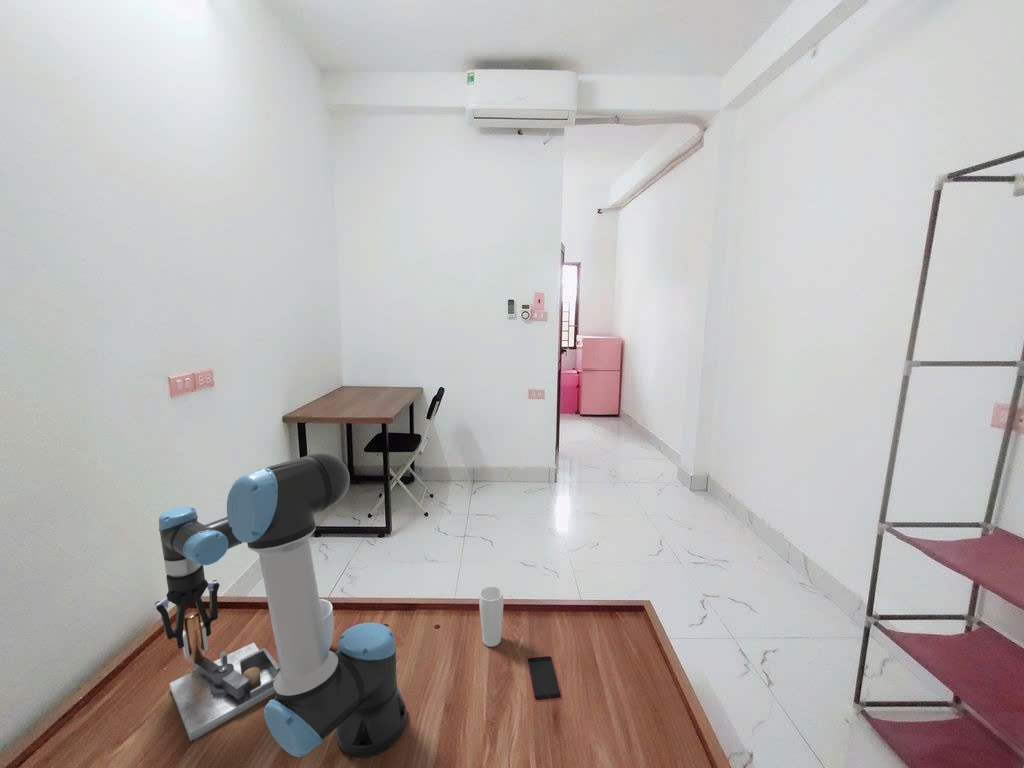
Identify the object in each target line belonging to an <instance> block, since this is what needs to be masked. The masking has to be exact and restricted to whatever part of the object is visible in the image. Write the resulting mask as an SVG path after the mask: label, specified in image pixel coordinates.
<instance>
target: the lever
mask: <svg viewBox="0 0 1024 768" xmlns="http://www.w3.org/2000/svg"><path fill="white" fill-rule="evenodd" d="M201 623H202V622H201V616H200V613H199V611H193V612H189V613H188V614H186V615H184V631H185V633H186V635H187V641H188V648H189V655H190V659H188V660H189V664H190V666H191V667H192V668H194V669H195V670H198V671H200V672H201V673H203V674H204V675H206V676H207V677H209V678H210V679H212V680H213V683H214V687H215V688H217V689H221V688H223V689H224V690H225V691H227V692H228V693H229V694H231V695H232V696H234V697H235V698H237V699H239V698H241V697H242V696H244V695H245V694H246V693H248V692H249V691H250V690H251V688H250V680H249V679H247V678H246V677H244V676H243V675H241V674H240V673H238V672H236V671H235V670H234V666H233V665H232V664H224V665H221V666H218V665H217V664H215V663H214V661H212V660H211V659H209V658H207V657H206V656H205V655H206V654H205V650H204V647H203V639H202V631H201Z"/></svg>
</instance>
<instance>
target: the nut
mask: <svg viewBox="0 0 1024 768" xmlns="http://www.w3.org/2000/svg"><path fill="white" fill-rule="evenodd" d="M243 676H244V677H246V678H247V679H249V680H250V688H251V690H252V689H255V688H256V687H258V686H259V684H260V683H261V679H260V670H259V668H258V667H252V668H249V669H248V670H246V671H245V672H244V673H243Z"/></svg>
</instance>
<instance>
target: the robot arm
mask: <svg viewBox="0 0 1024 768" xmlns="http://www.w3.org/2000/svg"><path fill="white" fill-rule="evenodd" d="M350 479H351V476H350V472H349V469H348V466H347V465H346V464H345V463H344V462H343V461H342V460H341V459H340V458H339V457H337V456H334V455H333V454H330V453H329V454H328V453H321V452H320V453H312V454H307V455H305V456H301V457H298V458H295V459H291V460H288V461H284V462H281V463H277V464H274V465H270V466H267V467H262V468H261V467H260V468H258V469H257V470H255V471H252V472H250V473H249V472H248V474H244V475H242V476H240V477H239V478H238V479H237V480H235V481H234V483H233V484H232V485H231V488H229V492H228V496H227V500H226V516H225V517H223V518H220V519H217V520H215V521H212V522H210V523H207V524H203V523H201V522H199V521H198V518H199V516H198V514H197V510H196V508H194V507H192V506H178V507H175V508H172V509H169V510H166V511H165V512H163V513H161V515H160V516H159V518H158V531H159V535H160V543H161V547H162V555H163V561H164V571H165V574H166V577H165V578H166V584H167V589H168V590H167V593H166V597H164V598H163V599H162V600H161V601H159V600H158V601H156V602H155V603H154V606H155V608H156V611H157V612H158V613H159V614H160V616H161V620H162V624H163V628H164V633H165V635H166V637H167V640H172V639H175V640H176V646H177V648H178V649H179V650H180V649H182V650H183V656H184V658H185V660H186V661H187V660H189V659H190V655H189V648H188V641H187V635H186V630H184V628H185V623H184V617H185V616H186V615H185V613H186V610H187V609H186V607H187V606H189V605H191V604H194V603H195V605H196V608H197V610H198V611H197V612H199V615H200V619H201V620H202V622H200V623H201V631H202V639H203V647H204V652H206V651H208V650H209V645H208V644H209V643H208V637H209V636H211V634H212V629H211V628H212V627H211V625H212V624H211V623H212V622H213V621H216V620H217V619H218V618H219V616H218V615H219V613H218V612H219V611H218V610H219V609H218V607H219V605H218V592H219V589H220V586H221V585H220V583H219V581H218V580H216V579H214V580H212V581H208V580H207V579H206V577H205V571H204V566H210V565H213V564H216V563H217V562H219V561H220V559H222V558H223V557H224V556H225V554H227V552H228V550H229V549H232V548H235V547H236V546H239V545H241V544H244V543H247V548H248V550H251V551H253V552H255V553H257V554H258V556H259V563H260V566H261V571H262V577H263V582H264V588H265V595H266V599H267V605H268V610H269V617H270V621H271V622H270V623H271V626H272V627H271V628H272V632H273V633H272V634H273V638H274V643H275V649H276V656H277V660H278V661H277V662H278V666H279V667H280V671H279V673H278V674H277V675H276V677H275V679H274V683H273V687H274V692H275V693H274V698H272V699H270V700H269V701H268V702H267V703H266V705H265V707H264V708H263V709H264V710H263V716H264V717H263V718H264V721H265V724H266V726H267V728H268V730H269V732H270V733H271V736H273V739H275V741H276V743H278V745H279V746H280V747H281V748H282V749H283V750H284V751H285V752H286V753H287V754H289V755H290V756H293V757H295V758H301V757H305V756H306V755H308V754H309V753H310V752H312V751H313V750H314V749H315V748H317V746H318V745H319V746H320V745H321V744H322V743H323V741H324V740H325V739H326V738H327V737H328V736H329V735H330V734H332V733H333V731H335V730H336V741H337V744H338V746H339V748H340V749H341V750H342V751H343V752H344V753H345V754H347V755H350V756H352V757H356V758H365V757H371V756H375V755H377V754H380V753H382V752H384V751H386V750H387V749H389V748H390V747H391V746H393V745H394V744H395V743H396V742H397V741H398V739H399V738H400V737H401V735H402V734H403V733H404V730H405V728H406V723H407V708H406V707H407V706H406V702H405V701H404V700H405V699H404V698H403V697H402V694H401V692H400V690H399V688H398V683H397V682H398V681H397V680H398V679H397V677H398V676H397V651H396V650H397V645H396V642H395V636H394V633H393V630H391V628H390V627H388V626H387V625H384V624H382V623H379V622H378V623H377V622H363V623H358V624H355V625H353V626H351V627H349V628H347V629H346V630H345V631H344V632H343V633H342V634H341V635H340V637H339V641H338V642H337V647H338V649H337V650H336V652H334V651H331V650H329V651H328V647H327V641H326V635H325V629H324V624H323V618H322V612H321V606H320V600H319V599H320V596H319V589H318V584H317V579H316V571H315V566H314V565H315V564H314V561H313V555H312V549H311V542H310V538H311V536H312V535H313V533H315V531H316V528H317V527H316V521H315V515H316V514H318V513H321V512H323V511H326V510H328V509H329V508H331V507H333V506H335V505H336V504H337V503H338V502H340V501H341V500H342V499H343V498H344V496H346V494H347V492H348V490H349V487H350V484H351V483H350V481H351V480H350ZM206 589H207V590H208V593H209V594H208V595H209V615H208V613H207V611H206V609H205V606H204V602H203V600H202V597H203V595H204V593H205V591H206ZM170 602H171V603H172V604H173V605H176V614H175V616H176V617H175V627H174V629H173V628H172V623H171V620H170V616H169V612H168V610H167V609H168V608H169V603H170Z"/></svg>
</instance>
